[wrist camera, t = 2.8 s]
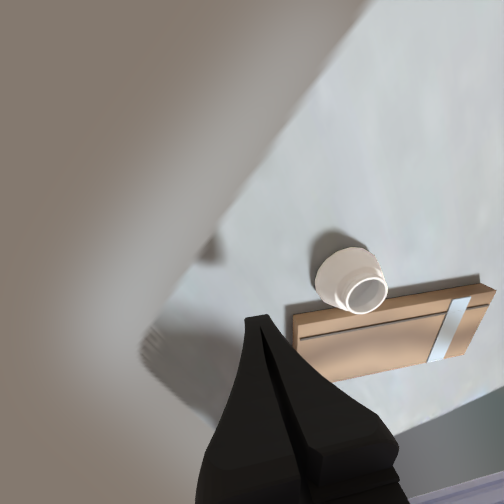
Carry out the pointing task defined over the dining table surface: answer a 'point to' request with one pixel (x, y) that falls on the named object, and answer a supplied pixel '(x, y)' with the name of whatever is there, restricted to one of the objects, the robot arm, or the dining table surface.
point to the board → (391, 332)
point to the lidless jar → (352, 281)
